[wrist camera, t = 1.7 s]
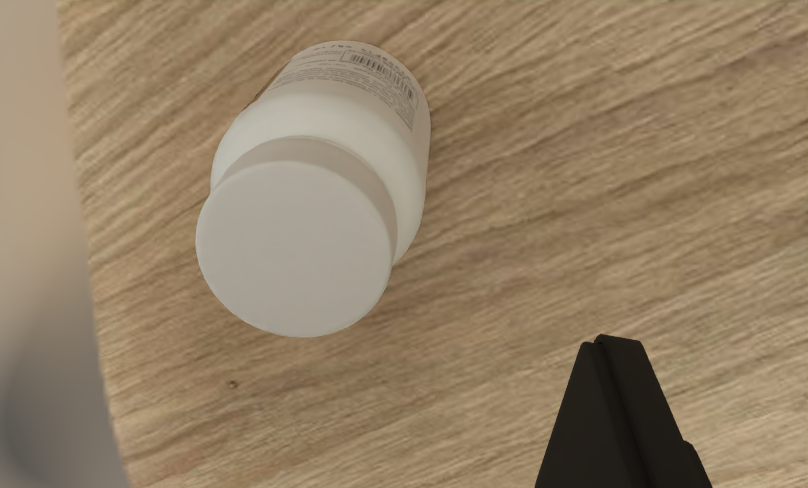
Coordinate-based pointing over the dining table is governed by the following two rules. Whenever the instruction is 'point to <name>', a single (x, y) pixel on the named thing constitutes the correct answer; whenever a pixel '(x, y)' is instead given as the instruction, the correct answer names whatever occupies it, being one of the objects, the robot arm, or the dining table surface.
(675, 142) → the dining table surface
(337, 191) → the pill bottle
